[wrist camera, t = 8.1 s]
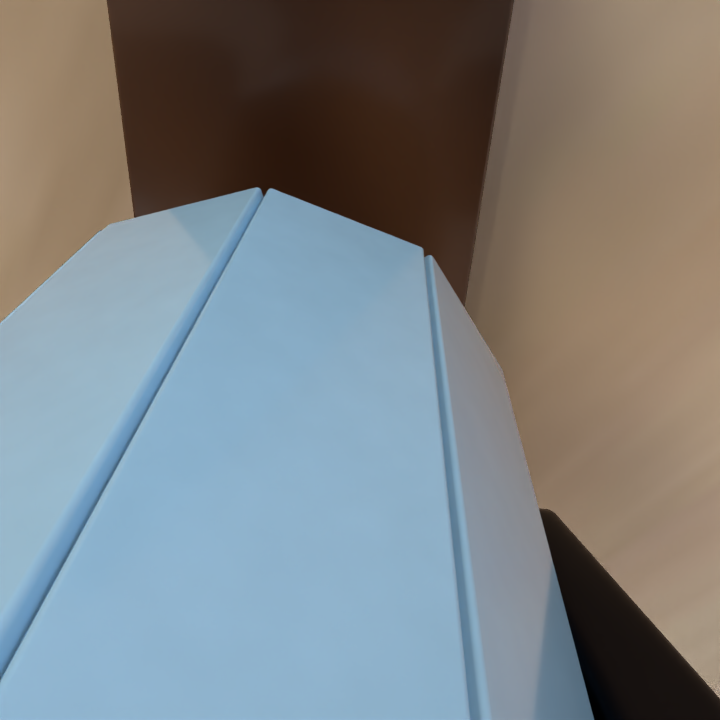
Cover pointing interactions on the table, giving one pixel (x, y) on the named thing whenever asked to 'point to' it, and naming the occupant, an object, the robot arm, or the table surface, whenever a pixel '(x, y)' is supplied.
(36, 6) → the table surface
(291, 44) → the rack
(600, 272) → the table surface
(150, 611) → the cup
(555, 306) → the table surface
